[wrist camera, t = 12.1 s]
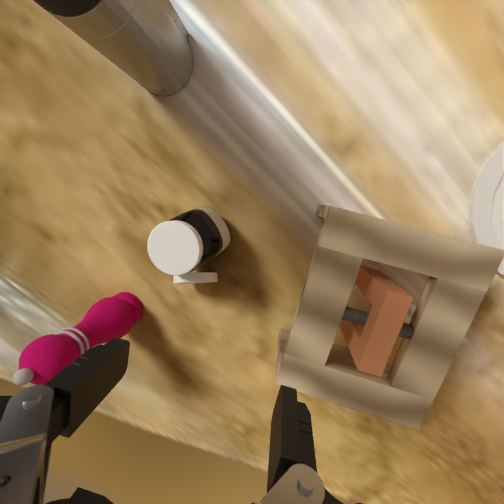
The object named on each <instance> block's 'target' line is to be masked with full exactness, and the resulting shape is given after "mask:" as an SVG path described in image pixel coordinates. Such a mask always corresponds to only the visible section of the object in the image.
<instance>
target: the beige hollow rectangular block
mask: <svg viewBox="0 0 504 504" xmlns="http://www.w3.org/2000/svg"><path fill="white" fill-rule="evenodd" d="M316 215H318V216H320V217H322V218H324V219H325V221H324V224H323V227H322V230H321V233H320V237H319V240H318V243H317V246H316V249H315V253H314V256H313V259H312V262H311V265H310V269H309V272H308V275H307V278H306V281H305V285H304V288H303V291H302V294H301V297H300V300H299V304H298V307H297V310H296V313H295V316H294V320H293V323H292V326H291V329H290V331H288V330H285V329H282V328H281V330H280V334H279V340H278V353H277V366H276V379H275V384H276V385H279V386H281V385H284V386H287V387H291V388H294V389H296V391H298V392H301V393H304V394H307V395H310V396H314V397H317V398H320V399H323V400H326V401H329V402H332V403H335V404H338V405H342V406H345V407H348V408H351V409H354V410H357V411H360V412H363V413H367V414H370V415H373V416H376V417H379V418H382V419H385V420H388V421H391V422H395V423H398V424H401V425H404V426H407V427H410V428H413V429H416V430H419V429H420V427H421V425H422V423H423V421H424V419H425V417H426V415H427V413H428V411H429V409H430V407H431V405H432V402H433V400H434V398H435V396H436V394H437V392H438V390H439V388H440V386H441V384H442V382H443V380H444V378H445V376H446V374H447V372H448V370H449V368H450V366H451V364H452V362H453V360H454V358H455V356H456V353H457V351H458V349H459V347H460V345H461V343H462V341H463V339H464V337H465V335H466V333H467V331H468V329H469V327H470V325H471V323H472V321H473V319H474V317H475V315H476V313H477V311H478V309H479V306H480V304H481V302H482V300H483V298H484V296H485V294H486V292H487V290H488V288H489V286H490V284H491V282H492V280H493V278H494V276H495V274H496V272H497V270H498V268H499V266H500V264H501V262H502V260H503V257H504V250H501V249H497V248H493V247H490V246H486V245H482V244H478V243H474V242H470V241H466V240H462V239H458V238H454V237H450V236H446V235H442V234H438V233H434V232H430V231H426V230H423V229H419V228H415V227H411V226H407V225H403V224H399V223H395V222H391V221H387V220H383V219H379V218H375V217H371V216H367V215H363V214H359V213H355V212H352V211H348V210H344V209H340V208H336V207H332V206H324V205H318V209H317V212H316ZM363 258H365V259H368V260H372V261H376V262H379V263H383V264H387V265H391V266H394V267H398V268H402V269H406V270H409V271H413V272H417V273H420V274H424V275H428V276H430V277H429V280H428V282H427V284H426V286H425V289H424V291H423V293H422V296H421V298H420V300H419V303H418V305H417V307H416V310H415V312H414V314H413V317H412V319H411V321H410V324H406V323H403V325H402V327H401V330H400V332H399V335H398V336H401V337H404V338H403V340H402V342H401V345H400V347H399V349H398V352H397V354H396V356H395V359H394V361H393V363H392V366H390V365H389V363H388V362H387V364H386V367H385V369H384V371H383V374H382V376H381V377H380V376H377V375H373V374H370V373H366V372H363V371H360V370H357V367H356V365H355V362H354V360H353V357H352V355H351V352H350V350H349V349H348V348H345V347H342V346H338V345H335V344H333V342H334V339H335V336H336V333H337V330H338V328H339V325H340V322H341V319H342V320H346V321H349V322H353V323H356V324H360V325H363V326H365V324H366V321H367V318H368V316H369V313H367V312H364V311H360V310H357V309H353V308H350V307H346V305H347V303H348V300H349V297H350V294H351V292H352V289H353V286H354V283H355V280H356V278H357V275H358V272H359V269H360V267H361V264H362V261H363Z"/></svg>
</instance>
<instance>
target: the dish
mask: <svg viewBox="0 0 504 504" xmlns="http://www.w3.org/2000/svg"><path fill="white" fill-rule="evenodd" d="M467 223H468V226H469V230H470V233H471V236H472V239H473V242H474V243H478V244H482V245H486V246H490V247H493V248H497V249H501V250H504V141H503V142H502V143H501V144H500V145H499V146H498V147H497V148H496V149H495V150H494V151H493V153H492V154H491V155H490V156H489V157H488V158H487V159H486V160H485V162H484V164H483V166H482V168H481V170H480V172H479V174H478V176H477V178H476V181H475V183H474V185H473V187H472V189H471V191H470V199H469V209H468V219H467ZM497 273H498V274H500V275H502V276H504V257H503V260H502V262H501V264H500V266H499V268H498V270H497Z"/></svg>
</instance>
